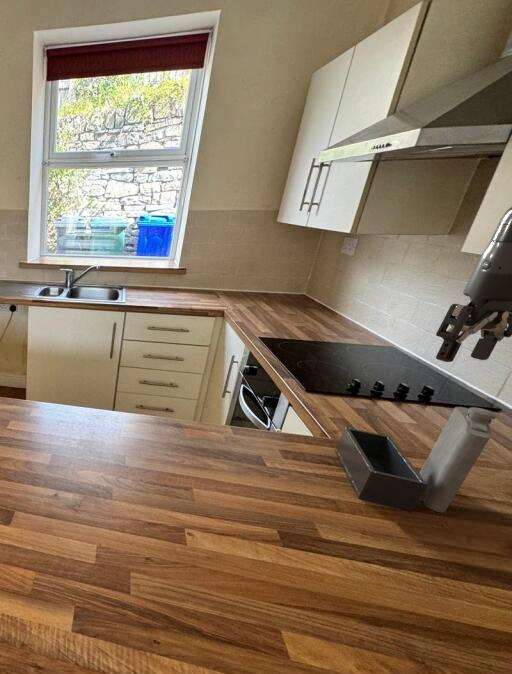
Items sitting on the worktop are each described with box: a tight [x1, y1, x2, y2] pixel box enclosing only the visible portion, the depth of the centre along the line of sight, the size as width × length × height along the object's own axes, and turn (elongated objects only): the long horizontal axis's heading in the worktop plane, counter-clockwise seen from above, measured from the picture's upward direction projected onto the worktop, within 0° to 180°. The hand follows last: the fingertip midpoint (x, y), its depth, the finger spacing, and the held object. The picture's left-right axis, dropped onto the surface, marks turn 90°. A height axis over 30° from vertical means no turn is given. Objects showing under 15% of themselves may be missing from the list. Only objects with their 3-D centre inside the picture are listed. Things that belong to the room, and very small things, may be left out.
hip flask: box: [418, 406, 498, 513], centre depth 82 cm, size 16×4×20 cm, turn 139°
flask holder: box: [334, 426, 427, 513], centre depth 89 cm, size 9×21×7 cm, turn 153°
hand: (461, 359), depth 75 cm, fingers open, 8 cm apart
